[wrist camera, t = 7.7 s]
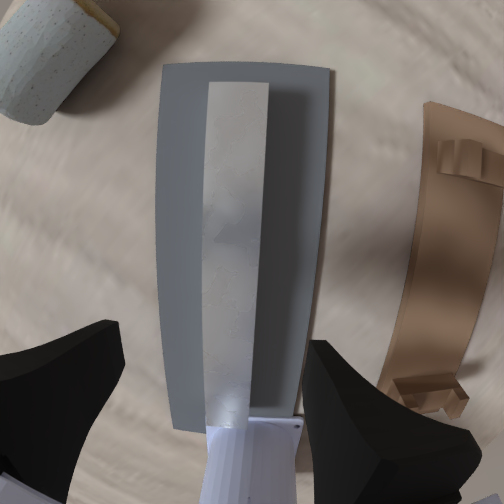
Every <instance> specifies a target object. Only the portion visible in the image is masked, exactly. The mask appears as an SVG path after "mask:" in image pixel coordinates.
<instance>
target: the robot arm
mask: <svg viewBox="0 0 504 504" xmlns="http://www.w3.org/2000/svg"><path fill="white" fill-rule="evenodd" d="M124 367H125V359H124V354H123V348H122V342H121V336H120V330H119V323H118V321H112V320H106V319H105V320H101V321H98V322H96V323H93V324H91V325H88V326H86V327H84V328H82V329H79V330H77V331H75V332H73V333H70V334H68V335H66V336H63V337H61V338H58V339H56V340H53V341H51V342H48V343H46V344H43V345H40V346H37V347H34V348H31V349H27V350H24V351H20V352H16V353H10V354H5V355H0V504H66V501H67V496H68V491H69V487H70V483H71V480H72V476H73V473H74V469H75V466H76V463H77V460H78V458H79V455H80V452H81V449H82V447H83V444H84V442H85V440H86V437H87V435H88V432H89V430H90V428H91V427H92V425H93V423H94V421H95V419H96V418H97V416H98V415H99V413H100V411H101V410H102V408H103V406H104V405H105V403H106V402H107V400H108V398H109V397H110V395H111V393H112V392H113V390H114V389H115V387H116V385H117V383H118V381H119V379H120V376H121V374H122V372H123V369H124ZM302 394H303V408H304V413H305V419H306V424H307V430H308V435H309V440H310V446H311V451H312V458H313V472H314V504H458V503H459V502H460V501H461V499H462V497H461V495H460V492H459V489H460V488H461V487H462V486H463V484H464V483H465V482H466V481H467V480H468V479H469V477H470V476H471V475H472V474H473V473H474V471H475V470H476V468H477V467H478V465H479V463H480V461H481V458H482V451H481V449H480V448H479V446H478V444H477V442H476V441H475V439H474V437H473V436H472V434H471V433H470V431H469V430H466V429H462V428H458V427H455V426H451V425H447V424H444V423H441V422H438V421H436V420H433V419H431V418H428V417H425V416H423V415H421V414H419V413H417V412H415V411H413V410H411V409H409V408H407V407H405V406H403V405H401V404H400V403H398V402H396V401H395V400H393V399H391V398H390V397H388V396H387V395H385V394H384V393H383V392H381V391H380V390H378V389H377V388H376V387H374V386H373V385H372V384H371V383H369V382H368V381H367V380H366V379H365V378H363V377H362V376H361V375H360V374H359V373H358V372H357V371H356V370H355V369H354V368H352V367H351V366H350V365H349V364H348V363H347V362H346V361H345V360H344V358H343V357H342V356H341V355H340V354H339V353H338V352H337V351H336V350H335V349H334V348H333V347H332V346H331V345H330V344H329V343H328V342H327V341H326V340H309V347H308V353H307V358H306V364H305V370H304V375H303V381H302ZM205 417H206V416H205ZM295 425H298V426H295ZM303 425H304V419H303V417H300V416H293V417H267V416H250V415H249V419H248V430H244V429H232V428H222V427H213V426H206V433H207V448H208V460H207V465H206V470H205V475H204V480H203V485H202V490H201V495H200V500H199V504H297V495H296V476H295V456H296V452H297V448H298V445H299V441H300V437H301V433H302V429H303ZM472 504H502V502H501V500H500V498H499V496H498V494H496V493H495V494H493V495H490V496H488V497H486V498H484V499H481V500H479V501H477V502H474V503H472Z"/></svg>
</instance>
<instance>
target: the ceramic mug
mask: <svg viewBox="0 0 504 504" xmlns="http://www.w3.org/2000/svg"><path fill="white" fill-rule="evenodd" d="M119 34H120V27H119V25H118V24H117V23H116V22H115V21H114V20H113V19H112V18H111V17H110V16H109V15H107V14H106V13H105V12H104V11H103V10H102V9H101V8H100V7H99V6H98V5H97V4H96V3H94V2H93V1H92V0H26V2H25V3H24V4H23V5H22V6H21V7H20V8H19V9H18V11H17V12H16V13H15V14H14V15H13V16H12V17H11V18H10V20H9V21H8V22H7V23H6V24H5V25H4V26H3V28H2V29H1V30H0V113H1V114H3V115H4V116H6V117H7V118H9V119H12V120H15V121H17V122H20V123H24V124H28V125H42V124H44V123H46V122H47V121H48V120H49V119H50V118H51V117H52V115H53V114H54V112H55V111H56V109H57V108H58V107H59V106H60V104H61V103H62V102H63V101H64V100H65V98H66V97H67V96H68V95H69V94H70V92H71V91H72V90H73V89H74V88H75V86H76V85H77V84H78V83H79V82H80V80H81V79H82V78H83V77H84V76H85V75H86V73H87V72H88V71H89V70H90V69H91V68H92V67H93V66H94V65H95V64H96V63H97V62H98V61H99V60H100V59H101V58H102V57H103V56H104V55H105V54H106V53H107V51H108V50H109V49H110V48H111V46H112V45H113V44H114V43H115V41H116V40H117V38H118V36H119Z"/></svg>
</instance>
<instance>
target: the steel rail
mask: <svg viewBox="0 0 504 504" xmlns="http://www.w3.org/2000/svg"><path fill="white" fill-rule="evenodd" d="M268 100H269V83H261V82H209V91H208V105H207V121H206V138H205V158H204V183H203V218H202V334H203V368H204V392H205V412H206V426H213V427H222V428H232V429H244V430H248V419H249V407H250V393H251V379H252V365H253V350H254V335H255V320H256V305H257V289H258V273H259V257H260V241H261V224H262V208H263V190H264V173H265V155H266V137H267V118H268Z"/></svg>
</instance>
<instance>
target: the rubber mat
mask: <svg viewBox="0 0 504 504" xmlns="http://www.w3.org/2000/svg"><path fill="white" fill-rule="evenodd" d="M329 77H330V68H322V67H314V66H305V65H295V64H282V63H265V62H195V63H178V64H166V65H163V71H162V81H161V92H160V104H159V117H158V133H157V154H156V195H155V220H156V262H157V283H158V300H159V314H160V326H161V337H162V347H163V357H164V366H165V374H166V382H167V390H168V397H169V404H170V410H171V417H172V423H173V429H178V430H184V431H191V432H198V433H205V434H207V433H206V417H205V416H206V412H205V392H204V368H203V334H202V218H203V183H204V158H205V138H206V121H207V105H208V91H209V82H261V83H269V100H268V118H267V137H266V155H265V173H264V190H263V208H262V224H261V241H260V257H259V273H258V289H257V305H256V320H255V335H254V350H253V365H252V379H251V393H250V407H249V415H250V416H267V417H293V412H294V407H295V402H296V397H297V391H298V386H299V380H300V375H301V369H302V363H303V357H304V351H305V345H306V338H307V332H308V325H309V319H310V312H311V304H312V297H313V289H314V282H315V274H316V265H317V257H318V248H319V238H320V228H321V218H322V207H323V195H324V183H325V169H326V153H327V135H328V113H329Z"/></svg>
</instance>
